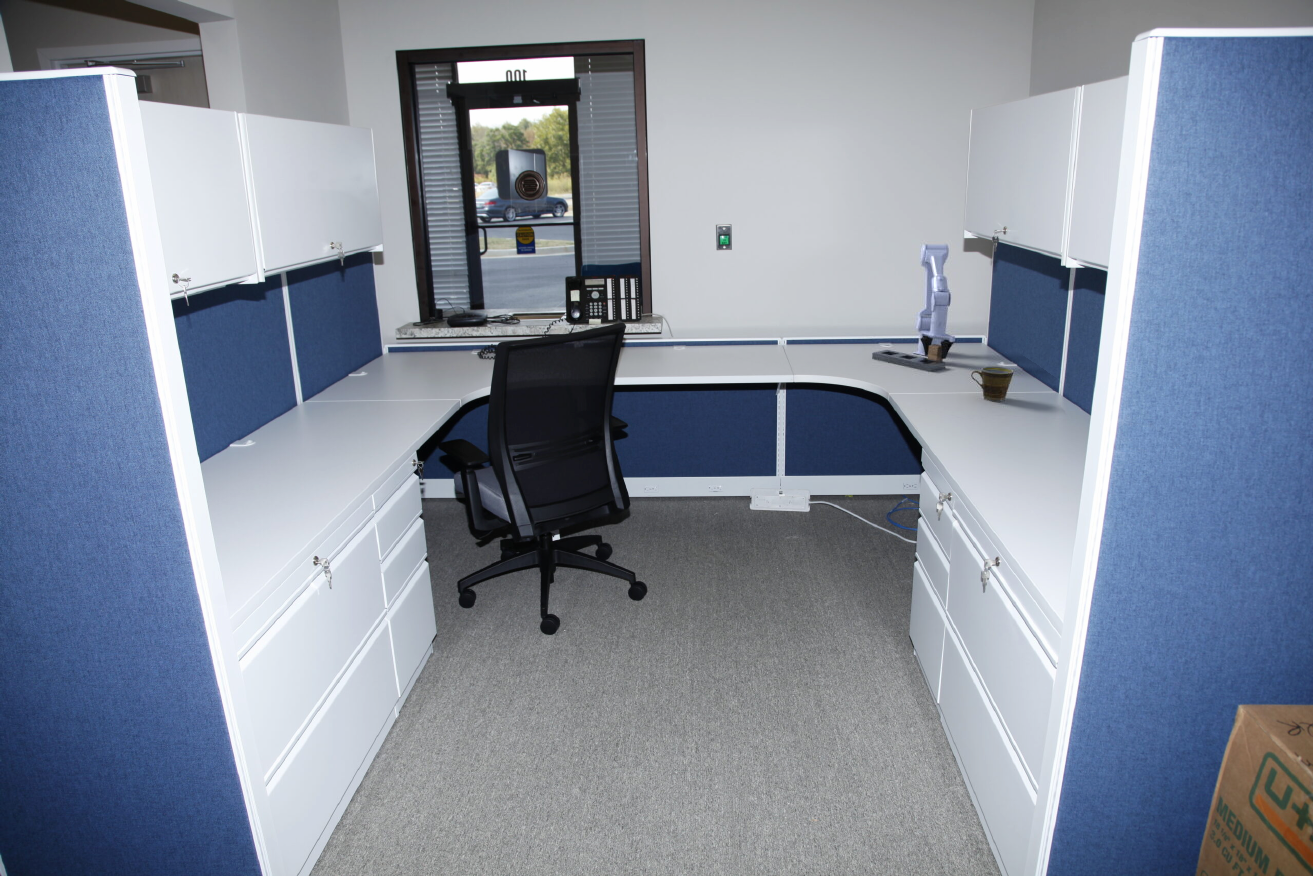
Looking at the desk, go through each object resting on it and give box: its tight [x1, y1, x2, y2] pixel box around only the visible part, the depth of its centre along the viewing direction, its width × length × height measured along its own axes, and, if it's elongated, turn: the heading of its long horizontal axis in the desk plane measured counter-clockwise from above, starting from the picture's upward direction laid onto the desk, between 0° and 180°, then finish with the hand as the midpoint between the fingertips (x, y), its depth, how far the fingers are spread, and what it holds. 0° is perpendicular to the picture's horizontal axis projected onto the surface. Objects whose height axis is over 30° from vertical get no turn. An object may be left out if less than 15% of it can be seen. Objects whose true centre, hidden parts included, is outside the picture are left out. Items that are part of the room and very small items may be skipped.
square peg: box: [927, 344, 944, 362], centre depth 332 cm, size 4×4×7 cm
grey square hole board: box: [871, 349, 947, 373], centre depth 332 cm, size 9×28×2 cm, turn 36°
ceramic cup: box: [971, 366, 1014, 402], centre depth 282 cm, size 13×10×10 cm
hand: (935, 356), depth 332 cm, fingers open, 7 cm apart
